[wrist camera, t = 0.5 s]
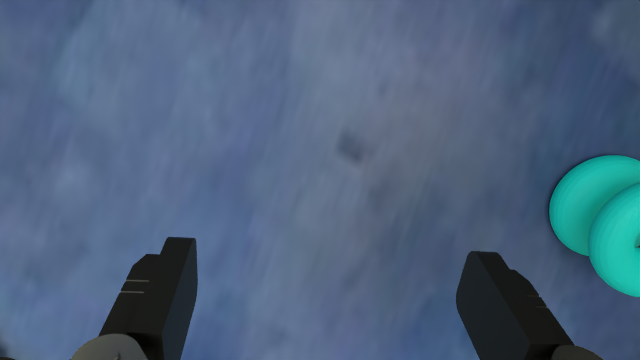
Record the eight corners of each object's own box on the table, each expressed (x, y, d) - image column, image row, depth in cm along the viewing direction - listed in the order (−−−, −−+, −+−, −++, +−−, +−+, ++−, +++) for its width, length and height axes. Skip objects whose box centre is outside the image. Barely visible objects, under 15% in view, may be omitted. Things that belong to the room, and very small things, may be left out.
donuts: (635, 171, 33) (765, 202, 33) (567, 140, 42) (669, 165, 42) (579, 289, 36) (699, 317, 36) (528, 236, 45) (623, 258, 45)
